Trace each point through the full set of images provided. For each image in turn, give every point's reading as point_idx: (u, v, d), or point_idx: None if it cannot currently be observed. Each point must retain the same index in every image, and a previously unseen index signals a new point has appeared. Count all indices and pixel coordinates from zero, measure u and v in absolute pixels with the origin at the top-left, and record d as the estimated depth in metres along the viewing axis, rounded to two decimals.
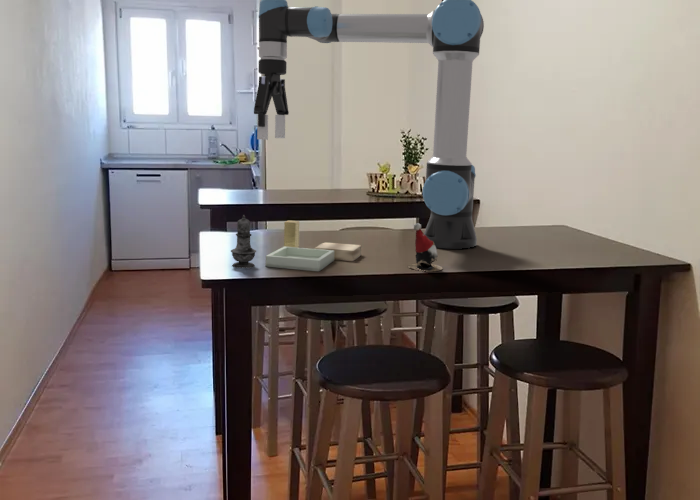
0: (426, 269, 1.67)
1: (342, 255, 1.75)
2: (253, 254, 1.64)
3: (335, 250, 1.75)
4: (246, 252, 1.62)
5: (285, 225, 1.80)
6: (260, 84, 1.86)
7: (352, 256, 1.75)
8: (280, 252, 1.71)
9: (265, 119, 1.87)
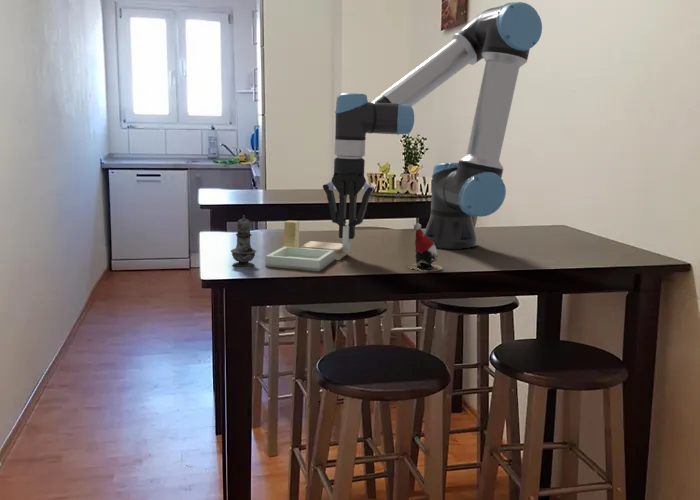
0: (426, 269, 1.67)
1: None
2: (253, 254, 1.64)
3: None
4: (246, 252, 1.62)
5: (285, 225, 1.80)
6: None
7: (338, 255, 1.75)
8: (280, 252, 1.71)
9: (342, 230, 1.77)
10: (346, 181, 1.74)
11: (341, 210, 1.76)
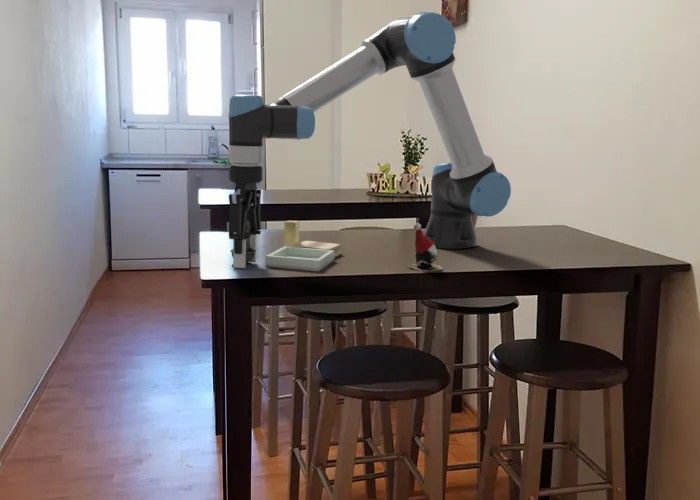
0: (426, 269, 1.67)
1: None
2: (253, 254, 1.63)
3: (312, 248, 1.77)
4: (246, 252, 1.62)
5: (285, 225, 1.80)
6: (231, 204, 1.56)
7: None
8: (280, 252, 1.71)
9: (242, 245, 1.60)
10: None
11: (244, 223, 1.59)
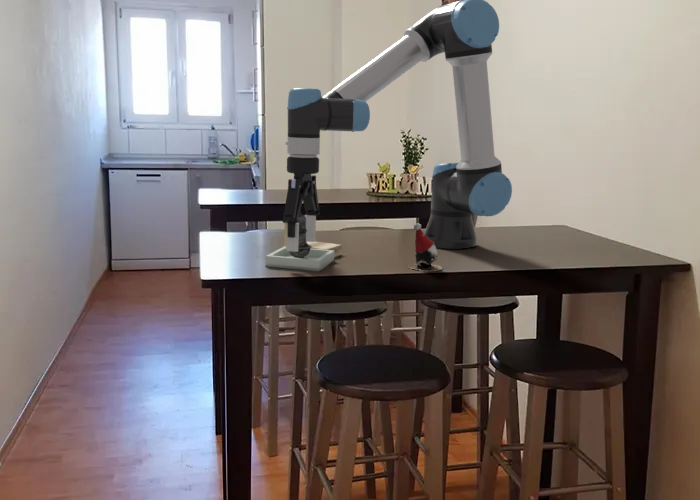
0: (426, 269, 1.67)
1: None
2: (309, 249, 1.68)
3: (310, 248, 1.77)
4: (303, 247, 1.67)
5: (285, 225, 1.80)
6: (290, 188, 1.60)
7: None
8: (280, 252, 1.71)
9: (295, 228, 1.61)
10: None
11: (299, 208, 1.61)
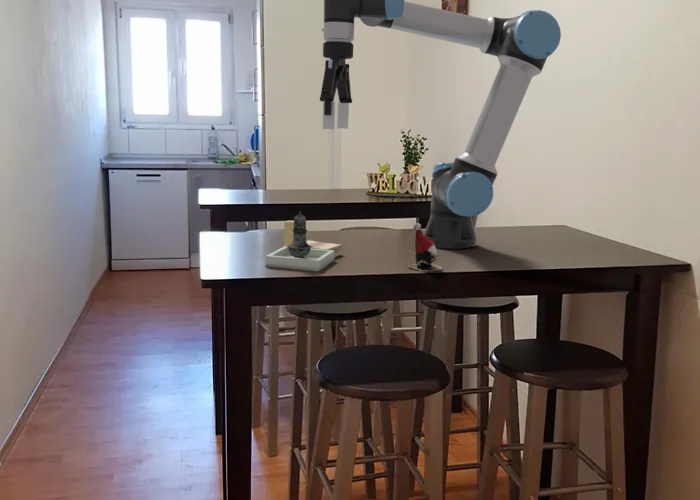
0: (426, 269, 1.67)
1: None
2: (309, 249, 1.68)
3: (310, 248, 1.77)
4: (303, 247, 1.67)
5: (285, 225, 1.80)
6: (327, 68, 1.70)
7: None
8: (280, 252, 1.71)
9: (332, 107, 1.71)
10: None
11: (335, 88, 1.72)
